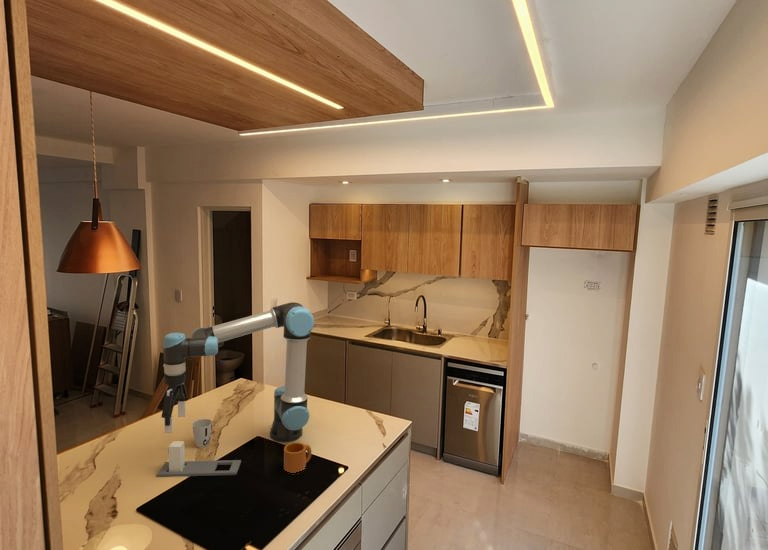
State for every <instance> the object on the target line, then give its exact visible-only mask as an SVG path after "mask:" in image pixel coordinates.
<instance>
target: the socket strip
mask: <svg viewBox="0 0 768 550" xmlns="http://www.w3.org/2000/svg"><path fill="white" fill-rule="evenodd" d="M241 463H242V460H241V459H233V460H227V459H226V460H223V459H222V460H189V461H188V460H185V467H184V469H183V470H182V472H169V461H165V462H164V463H163V464H162V465H161V467H160V468H159V470H158V471H157V473H156V478H159V477H160V478H161V477H163V478H164V477H165V478H167V477H169V478H170V477H198V476H199V477H200V476H201V477H202V476H203V477H204V476H209V477H210V476H236V475H237V474H238V471H239V469H240V466H241ZM219 465H220V466H223V465H224V466H229V465H230V468H229V470H216V469H217V467H218V466H219Z"/></svg>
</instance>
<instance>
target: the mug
mask: <svg viewBox="0 0 768 550" xmlns="http://www.w3.org/2000/svg"><path fill="white" fill-rule="evenodd" d="M311 458H312V447H311V446H310V445H309V444H305V443H303V442H298V441H297V442H294V441H293V442H290V443H288V444H286V445H285V446H284V447H283V470H285V471H287V472H290V473H296V472H299V471H302V470H304V469H305V470H306V468H305V467H307V463H309V461H310V459H311ZM305 470H304V471H305ZM285 471H284V472H285Z"/></svg>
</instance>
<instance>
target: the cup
mask: <svg viewBox="0 0 768 550" xmlns="http://www.w3.org/2000/svg"><path fill="white" fill-rule="evenodd" d="M191 425H192V434H193V439H194V443H195V445H196V447H198V448H205V447H207V446H208V445H209V444H210V441H211V437H212V433H213V432H212V431H213V420H212V419H209V418H201V419H197V420H196V421H194V422H192V424H191Z"/></svg>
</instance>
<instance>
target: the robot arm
mask: <svg viewBox="0 0 768 550" xmlns="http://www.w3.org/2000/svg"><path fill="white" fill-rule="evenodd" d="M282 327H283V338H284V339H285V340H286V353H285V354H286V355H285V374H284V375H285V376H284V378H285V379H284V386H279V387H276V388H275V389H274V393H273V398H274V399H273V402H274V403H273V421H272V423H271V427H270V430H269V437H270V439H272V440H273V441H275V442H280V443H288V442H290V443H291V442H294V441H296V440H298V439H300V438H301V437H302V435H303V431H304V430H303V428H304V427H305V426H306V425H308V423H309V420H310V411H309V409H308V399H309V397H308V395H307V394H306V393H305V389H306V388H305V386H306V385H305V383H306V365H307V346H308V345H307V344H308V343H307V342H308V340H310V339H311V336H312V331H313V329H314V327H315V318H314V316H313V314H312V312H311V311H310V310H309V309H308V308H307V307H305V306H304V305H303V304H301V303H299V302H292V301H291V302H287V303H283V304H281V305H280V304H279V305H277V306H273V307H271V308H270V309H269V310H268V311H267V310H266V311H262V312H260V313H257V314H253V315H252V314H251V315H248V316H246V317H245V316H244V317H242V318H237V319H234V320H231V321H228V322H224V323H220V324H216V325H213V326H210V327H209V326H208V327H197V328H196V329H195V330H193V332H192V334H191V337H186V334H185V333H183V332H171V333H170V332H169V333H168V334H166V335H165V336H164V337H163V365H162V367H163V369H164V370H163V373H164V374H163V382H164V384H165V385H166V386H168V389H167V390H165V391H164V401H163V407H162V413H161V416H160V417H161V419H164V434H172V433H174V425H173V423H174V422H173V419H174V417H173V415H172V414H173V410H174V407H175V402H176V400H177V399H178V401H177V418H185V417H186V416H187V415H186V410H187V409H186V401H189V397H188V396H189V395H188V391H187V387H186V383H185V382H186V378H187V377H186V370H187V369H186V368H187V367H186V358H196V357H197V358H198V357H210V356H215V355H217V354H218V353H219V352H218V351H219V343H223V342H226V341H229V340H232V339H235V338H240V337H243V336H245V335H249V334H253V333H256V332H260V331H264V330H268V329H271V328H276V329H278V328H282Z"/></svg>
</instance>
